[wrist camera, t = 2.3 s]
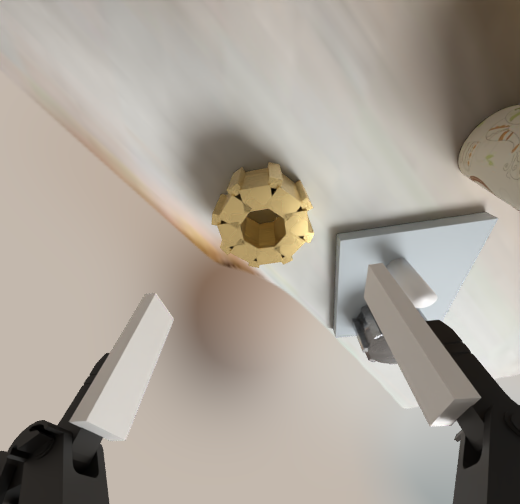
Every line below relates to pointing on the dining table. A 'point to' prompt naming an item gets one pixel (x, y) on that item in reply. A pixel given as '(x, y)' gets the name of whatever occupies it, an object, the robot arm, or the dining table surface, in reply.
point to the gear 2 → (373, 337)
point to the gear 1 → (264, 234)
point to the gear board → (423, 253)
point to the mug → (495, 155)
